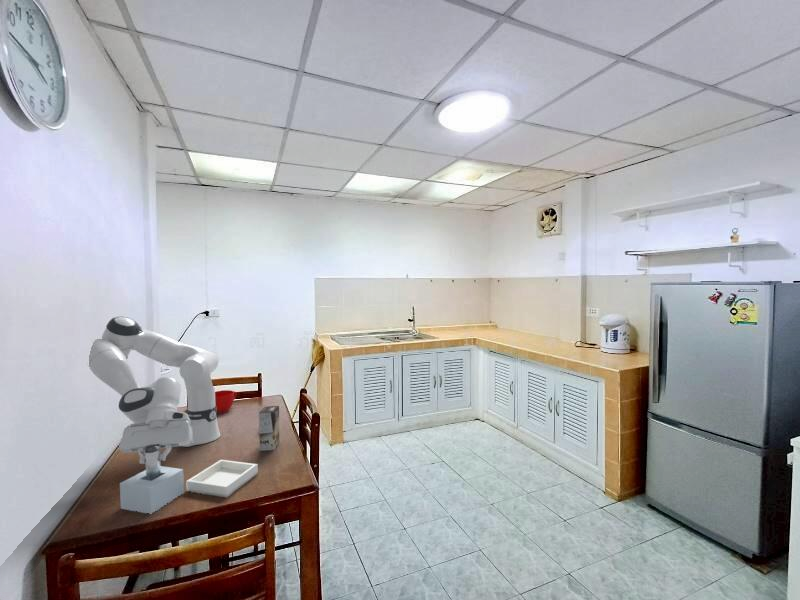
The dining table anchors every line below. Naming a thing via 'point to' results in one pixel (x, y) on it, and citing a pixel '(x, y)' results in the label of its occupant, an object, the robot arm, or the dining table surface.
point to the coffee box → (269, 428)
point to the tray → (222, 478)
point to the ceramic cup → (224, 400)
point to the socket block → (151, 490)
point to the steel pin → (152, 462)
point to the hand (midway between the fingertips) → (152, 461)
